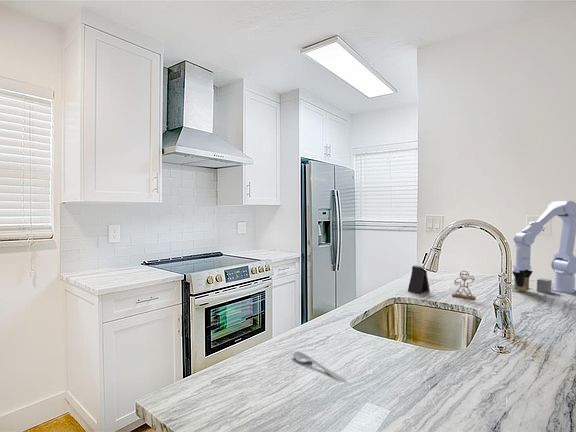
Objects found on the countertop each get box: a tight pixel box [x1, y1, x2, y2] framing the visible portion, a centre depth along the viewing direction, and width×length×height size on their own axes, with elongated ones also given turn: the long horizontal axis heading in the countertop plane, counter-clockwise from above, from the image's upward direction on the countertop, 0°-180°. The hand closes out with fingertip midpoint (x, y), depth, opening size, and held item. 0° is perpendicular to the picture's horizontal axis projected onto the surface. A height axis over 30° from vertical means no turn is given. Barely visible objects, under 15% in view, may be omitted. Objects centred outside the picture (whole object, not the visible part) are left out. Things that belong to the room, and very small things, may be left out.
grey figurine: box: [451, 270, 476, 301], centre depth 160 cm, size 9×4×12 cm, turn 52°
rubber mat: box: [511, 288, 540, 296], centre depth 171 cm, size 6×12×1 cm, turn 37°
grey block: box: [536, 278, 552, 294], centre depth 172 cm, size 4×4×6 cm
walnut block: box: [514, 277, 530, 291], centre depth 171 cm, size 4×4×6 cm
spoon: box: [293, 351, 348, 384], centre depth 89 cm, size 4×21×2 cm, turn 40°
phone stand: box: [407, 265, 431, 295], centre depth 170 cm, size 9×6×12 cm, turn 127°
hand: (522, 285), depth 171 cm, fingers closed on walnut block, 4 cm apart
